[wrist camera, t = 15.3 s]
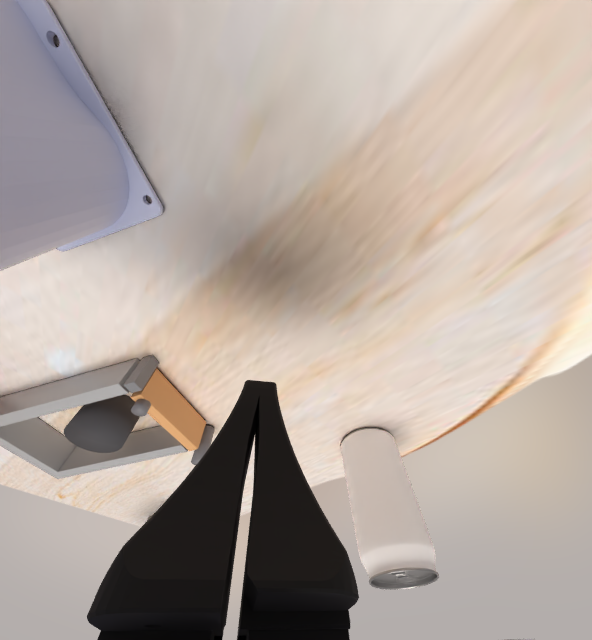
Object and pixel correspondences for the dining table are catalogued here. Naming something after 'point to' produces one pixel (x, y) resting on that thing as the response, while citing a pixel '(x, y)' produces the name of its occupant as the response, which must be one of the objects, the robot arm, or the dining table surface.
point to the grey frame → (51, 446)
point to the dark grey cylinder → (102, 425)
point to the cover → (173, 414)
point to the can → (386, 513)
